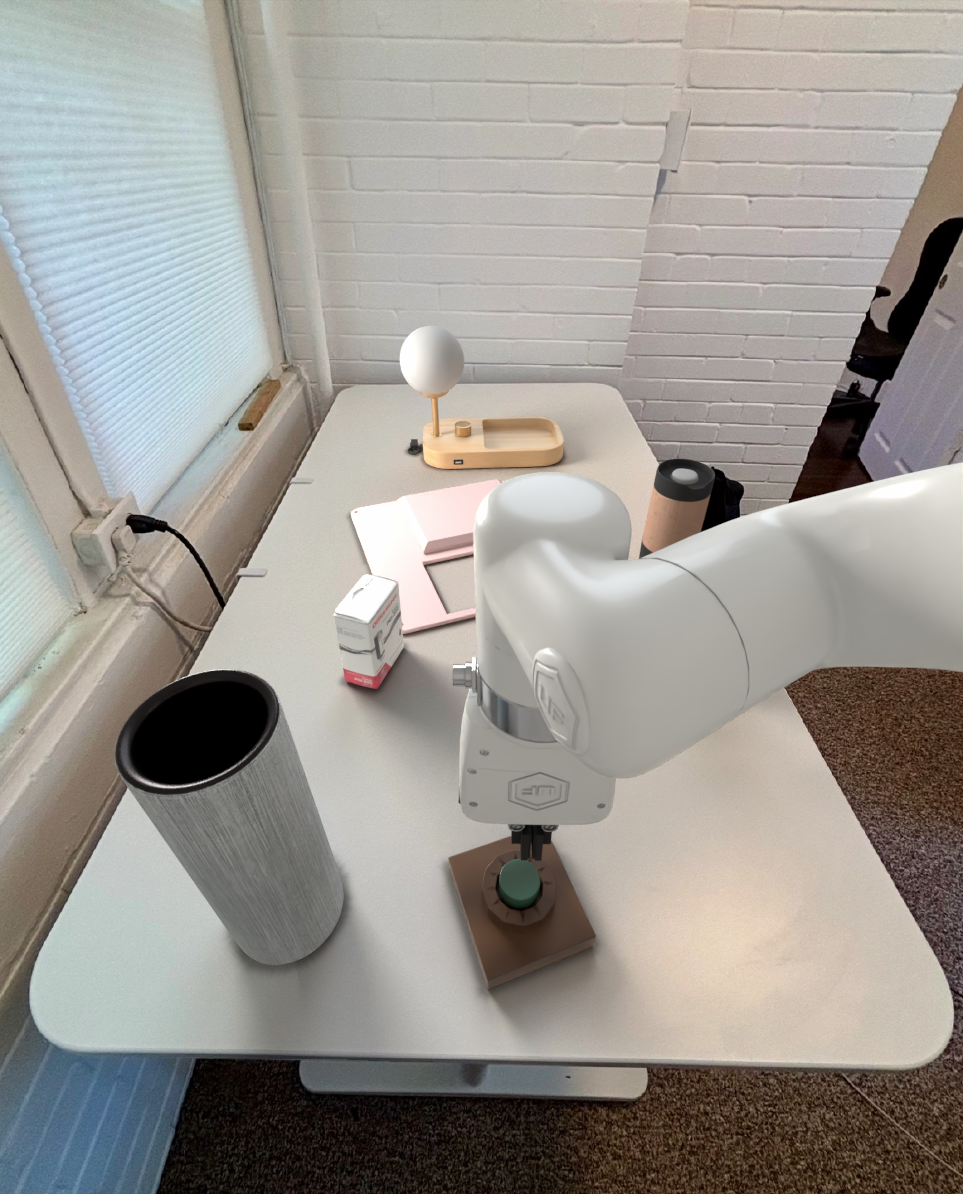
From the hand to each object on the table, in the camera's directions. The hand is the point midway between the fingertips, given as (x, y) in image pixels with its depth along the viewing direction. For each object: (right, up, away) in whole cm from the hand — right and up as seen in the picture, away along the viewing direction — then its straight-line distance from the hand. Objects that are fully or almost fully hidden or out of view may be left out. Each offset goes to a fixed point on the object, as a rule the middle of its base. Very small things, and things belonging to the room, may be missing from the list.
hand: (530, 842), depth 46 cm
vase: (-22, -10, +9) cm, 25 cm away
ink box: (-18, +10, +33) cm, 39 cm away
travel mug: (+23, +20, +44) cm, 54 cm away
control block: (0, -9, +9) cm, 13 cm away
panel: (-6, +28, +54) cm, 61 cm away
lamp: (-3, +51, +81) cm, 96 cm away
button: (0, -7, +6) cm, 9 cm away
